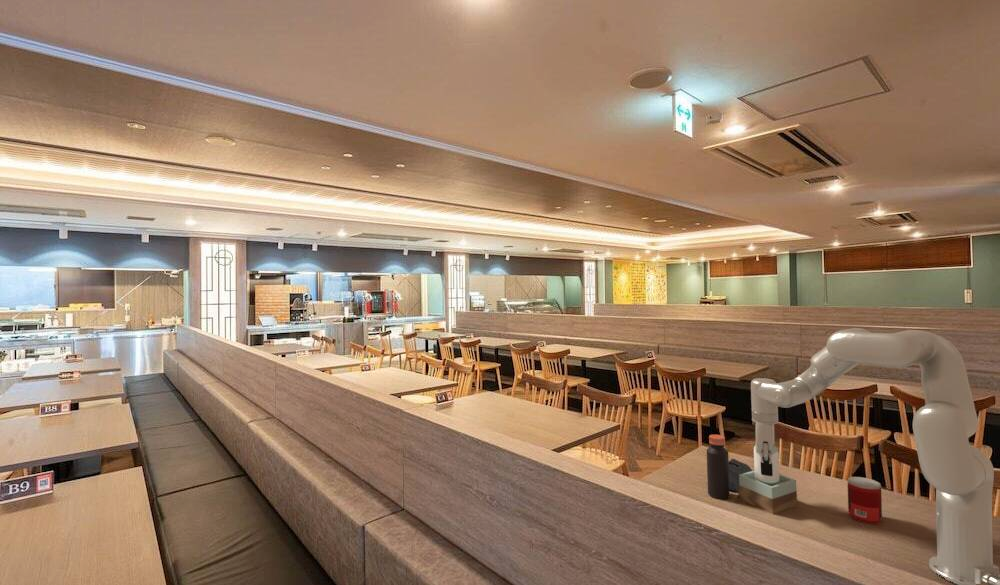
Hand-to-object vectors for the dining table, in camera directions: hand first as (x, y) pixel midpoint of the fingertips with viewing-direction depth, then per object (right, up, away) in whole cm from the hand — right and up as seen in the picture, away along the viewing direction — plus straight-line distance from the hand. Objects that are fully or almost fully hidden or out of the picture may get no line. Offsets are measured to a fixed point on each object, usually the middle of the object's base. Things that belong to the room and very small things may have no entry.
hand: (766, 470), depth 152 cm
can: (0, -4, 0) cm, 4 cm away
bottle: (-13, -11, +6) cm, 18 cm away
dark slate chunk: (-2, -11, +18) cm, 21 cm away
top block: (0, -6, 0) cm, 6 cm away
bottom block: (0, -11, 0) cm, 11 cm away
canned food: (+23, -10, -12) cm, 28 cm away
